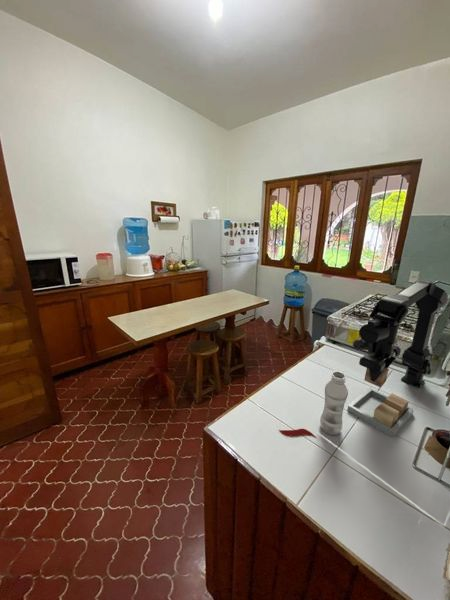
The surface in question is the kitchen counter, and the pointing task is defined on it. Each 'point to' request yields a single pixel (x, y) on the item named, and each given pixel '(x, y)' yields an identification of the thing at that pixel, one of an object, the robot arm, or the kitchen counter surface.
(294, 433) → the cayenne pepper
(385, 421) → the block
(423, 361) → the robot arm
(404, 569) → the kitchen counter surface
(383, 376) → the block
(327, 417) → the plastic bottle
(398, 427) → the tray
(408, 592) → the kitchen counter surface
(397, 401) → the block
